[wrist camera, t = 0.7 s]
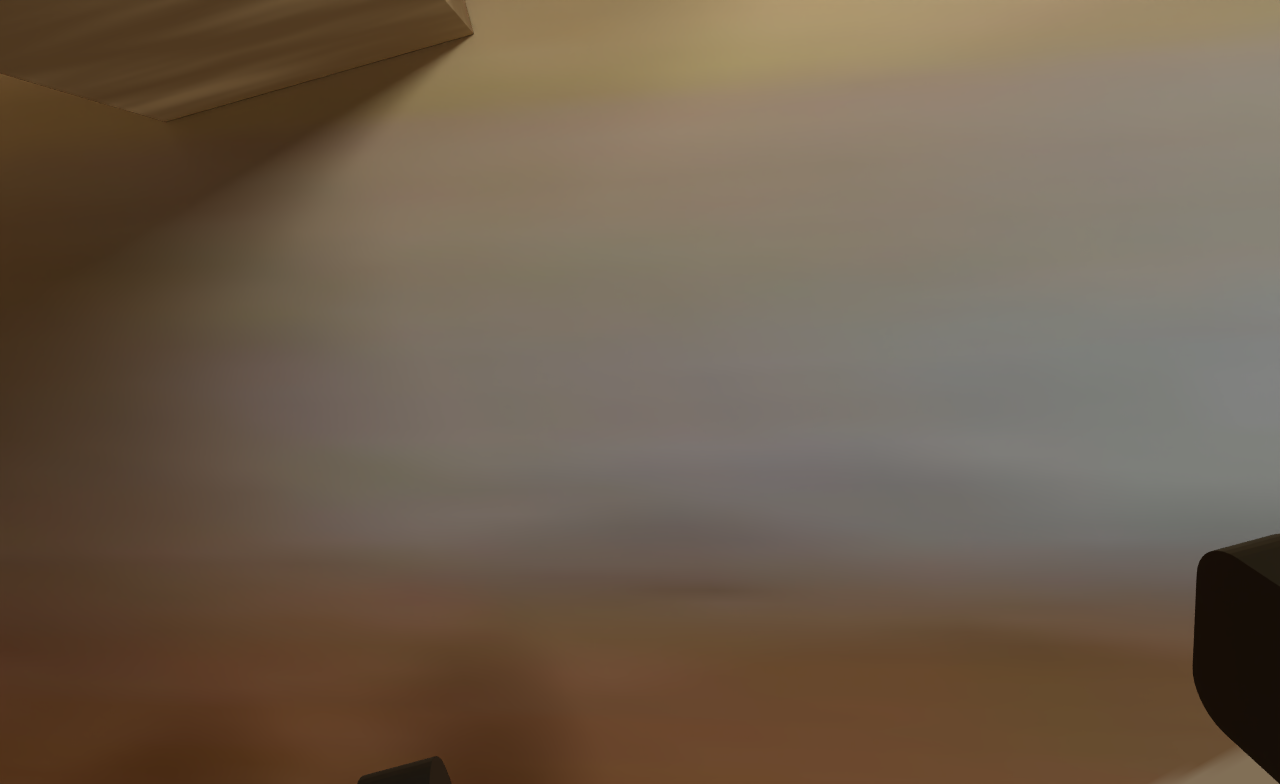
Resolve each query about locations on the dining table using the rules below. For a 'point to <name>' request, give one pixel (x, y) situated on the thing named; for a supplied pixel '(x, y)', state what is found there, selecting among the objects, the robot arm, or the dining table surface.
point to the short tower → (208, 45)
